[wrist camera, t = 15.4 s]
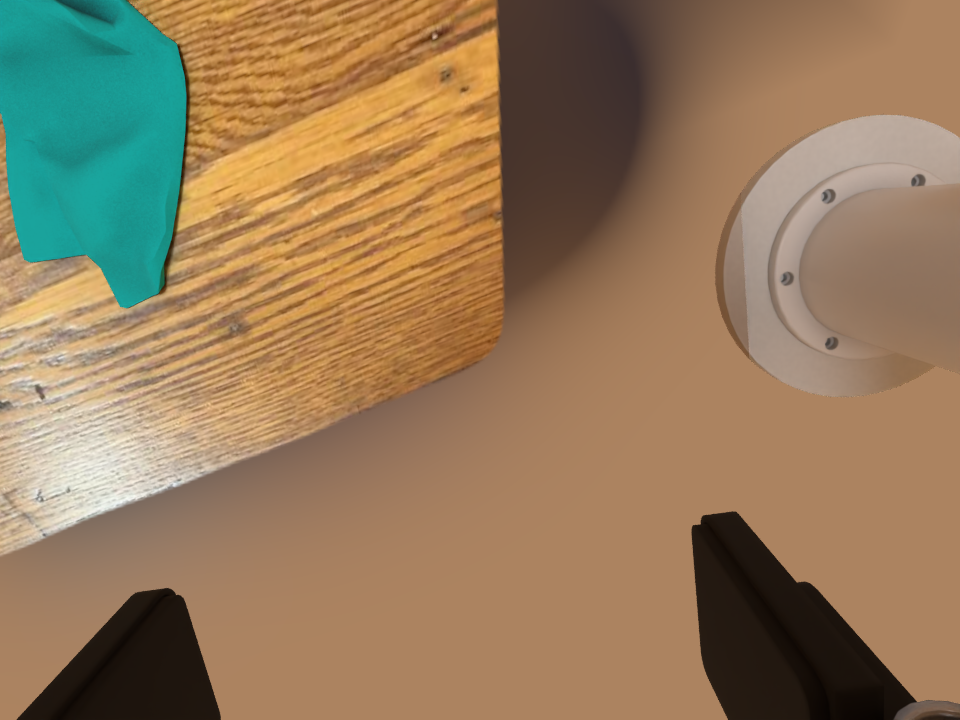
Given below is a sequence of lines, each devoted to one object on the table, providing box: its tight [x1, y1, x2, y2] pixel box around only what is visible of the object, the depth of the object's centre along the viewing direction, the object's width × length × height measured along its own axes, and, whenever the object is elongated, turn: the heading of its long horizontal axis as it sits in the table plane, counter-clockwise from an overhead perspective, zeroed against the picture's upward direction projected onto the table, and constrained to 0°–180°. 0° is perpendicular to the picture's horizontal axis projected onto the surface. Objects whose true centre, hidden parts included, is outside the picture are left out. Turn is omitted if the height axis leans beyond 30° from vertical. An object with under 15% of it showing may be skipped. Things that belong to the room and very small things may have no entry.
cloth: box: [0, 0, 186, 308], centre depth 34 cm, size 26×14×2 cm, turn 11°
